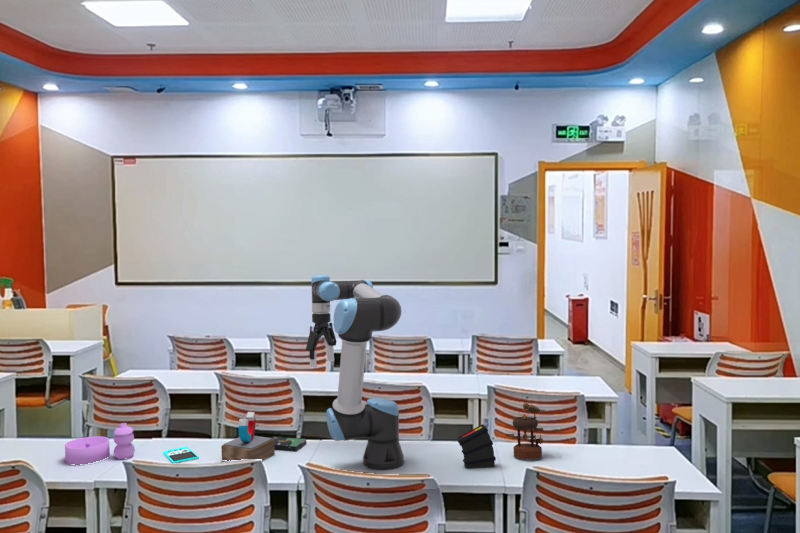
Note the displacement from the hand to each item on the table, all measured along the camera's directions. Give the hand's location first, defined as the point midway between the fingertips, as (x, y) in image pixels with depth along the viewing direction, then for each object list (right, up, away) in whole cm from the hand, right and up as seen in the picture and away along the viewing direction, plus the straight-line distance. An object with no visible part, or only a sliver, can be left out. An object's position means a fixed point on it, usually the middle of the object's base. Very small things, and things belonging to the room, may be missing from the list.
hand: (322, 364), depth 261 cm
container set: (-83, -34, -18) cm, 91 cm away
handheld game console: (-53, -34, -16) cm, 65 cm away
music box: (+80, -32, -23) cm, 89 cm away
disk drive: (-14, -33, -7) cm, 36 cm away
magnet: (-26, -27, -21) cm, 42 cm away
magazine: (+60, -32, -32) cm, 75 cm away
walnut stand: (-26, -33, -20) cm, 46 cm away
